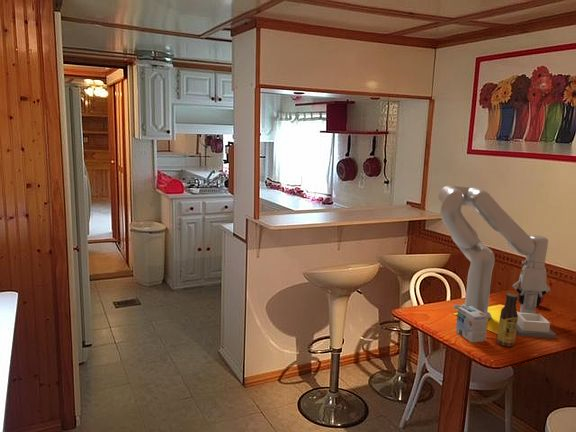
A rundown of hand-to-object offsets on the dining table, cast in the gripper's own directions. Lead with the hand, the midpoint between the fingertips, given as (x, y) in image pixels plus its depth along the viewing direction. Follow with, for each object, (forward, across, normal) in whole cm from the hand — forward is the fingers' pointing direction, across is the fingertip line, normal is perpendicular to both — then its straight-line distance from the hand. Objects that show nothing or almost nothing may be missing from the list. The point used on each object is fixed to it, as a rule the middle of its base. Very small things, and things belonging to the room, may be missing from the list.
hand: (528, 303), depth 220 cm
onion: (+7, +10, +17) cm, 21 cm away
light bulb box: (+8, -30, -25) cm, 40 cm away
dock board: (+7, -3, -14) cm, 16 cm away
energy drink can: (+6, 0, 0) cm, 6 cm away
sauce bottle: (+7, -18, -30) cm, 36 cm away
